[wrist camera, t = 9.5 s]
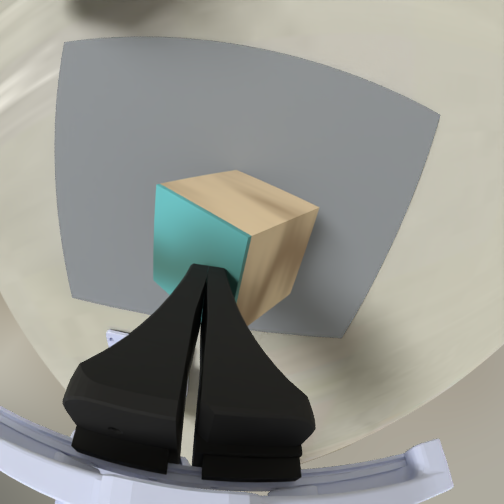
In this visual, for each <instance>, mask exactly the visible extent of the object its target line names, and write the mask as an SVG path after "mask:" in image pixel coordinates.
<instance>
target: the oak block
mask: <svg viewBox="0 0 504 504" xmlns="http://www.w3.org/2000/svg"><path fill="white" fill-rule="evenodd" d="M318 210H319V207H318V206H316V205H313V204H311V203H309V202H307V201H305V200H303V199H301V198H299V197H297V196H294V195H292V194H290V193H288V192H286V191H284V190H281V189H279V188H277V187H275V186H272V185H270V184H268V183H266V182H263V181H261V180H259V179H257V178H254V177H252V176H250V175H247V174H245V173H243V172H240V171H238V170H233V171H226V172H220V173H214V174H208V175H202V176H197V177H191V178H186V179H181V180H176V181H171V182H166V183H161V184H156V197H155V215H154V245H153V280H154V281H155V282H156V283H157V284H158V285H159V286H160V287H161V288H162V289H163V290H165V291H166V292H167V293H168V294H169V295H170V294H171V293H172V292H173V291H174V289H175V288H176V287H177V286H178V284H179V283H180V282H181V280H182V279H183V277H184V276H185V274H186V273H187V271H188V269H189V267H190V265H192V264H193V263H195V264H201V265H207V266H214V267H220V268H225V270H226V271H227V277H228V281H229V285H230V288H231V291H232V294H233V296H234V299H235V301H236V304H237V306H238V308H239V311H240V313H241V315H242V317H243V319H244V321H245V323H246V325H247V326H248V325H250V324H251V323H252V322H254V321H255V320H256V319H258V318H259V317H260V316H262V315H263V314H264V313H266V312H267V311H268V310H270V309H271V308H272V307H274V306H275V305H276V304H277V303H279V302H280V301H281V300H283V299H284V298H285V297H287V296H288V295H289V294H290V293H291V290H292V287H293V285H294V282H295V279H296V276H297V273H298V270H299V268H300V265H301V262H302V259H303V256H304V253H305V250H306V247H307V244H308V241H309V238H310V235H311V232H312V229H313V226H314V223H315V220H316V217H317V214H318ZM208 269H209V268H208ZM203 304H204V303H203ZM202 311H203V310H202ZM201 319H202V318H201Z"/></svg>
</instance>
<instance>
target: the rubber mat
mask: <svg viewBox="0 0 504 504" xmlns="http://www.w3.org/2000/svg"><path fill="white" fill-rule="evenodd" d="M439 118H440V114H438V113H436V112H434V111H433V110H431V109H429V108H427V107H425V106H423V105H421V104H419V103H417V102H415V101H413V100H411V99H409V98H407V97H405V96H403V95H401V94H398V93H396V92H394V91H392V90H390V89H387V88H385V87H383V86H380V85H378V84H376V83H373V82H371V81H368V80H366V79H363V78H360V77H358V76H355V75H352V74H350V73H347V72H344V71H341V70H338V69H335V68H332V67H329V66H326V65H323V64H319V63H316V62H313V61H309V60H306V59H302V58H298V57H295V56H291V55H287V54H283V53H278V52H274V51H269V50H265V49H260V48H255V47H249V46H244V45H238V44H231V43H225V42H217V41H209V40H199V39H188V38H173V37H112V38H97V39H86V40H77V41H70V42H64V47H63V52H62V58H61V65H60V72H59V80H58V90H57V101H56V116H55V180H56V196H57V208H58V217H59V226H60V234H61V241H62V247H63V254H64V259H65V265H66V270H67V275H68V280H69V285H70V290H71V294H72V298H76V299H80V300H84V301H88V302H92V303H97V304H101V305H106V306H110V307H115V308H119V309H124V310H129V311H134V312H139V313H144V314H149V315H152V314H153V313H154V312H155V311H156V310H157V309H158V308H159V307H160V306H161V305H162V303H163V302H164V301H165V300H166V299H167V298H168V297H169V296H170V295H169V294H168V293H167V292H166V291H165V290H163V289H162V288H161V287H160V286H159V285H158V284H157V283H156V282H155V281H154V280H153V245H154V215H155V197H156V184H161V183H166V182H171V181H176V180H181V179H186V178H191V177H197V176H202V175H208V174H214V173H220V172H226V171H233V170H238V171H240V172H243V173H245V174H247V175H250V176H252V177H254V178H257V179H259V180H261V181H263V182H266V183H268V184H270V185H272V186H275V187H277V188H279V189H281V190H284V191H286V192H288V193H290V194H292V195H294V196H297V197H299V198H301V199H303V200H305V201H307V202H309V203H311V204H313V205H316V206H318V207H319V210H318V214H317V217H316V220H315V223H314V226H313V229H312V232H311V235H310V238H309V241H308V244H307V247H306V250H305V253H304V256H303V259H302V262H301V265H300V268H299V270H298V273H297V276H296V279H295V282H294V285H293V287H292V290H291V293H290V294H289V295H288V296H287V297H285V298H284V299H283V300H281V301H280V302H279V303H277V304H276V305H275V306H274V307H272V308H271V309H270V310H268V311H267V312H266V313H264V314H263V315H262V316H260V317H259V318H258V319H256V320H255V321H254V322H252V323H251V324H250V325H248V328H249V330H254V331H262V332H271V333H281V334H292V335H303V336H316V337H330V338H342V337H343V335H344V333H345V332H346V330H347V328H348V327H349V325H350V323H351V322H352V320H353V318H354V316H355V315H356V313H357V311H358V309H359V307H360V306H361V304H362V302H363V300H364V298H365V297H366V295H367V293H368V291H369V289H370V287H371V285H372V283H373V281H374V280H375V278H376V276H377V274H378V272H379V270H380V268H381V266H382V264H383V262H384V260H385V258H386V255H387V253H388V251H389V249H390V247H391V245H392V243H393V241H394V238H395V236H396V234H397V232H398V230H399V227H400V225H401V223H402V220H403V218H404V216H405V213H406V211H407V209H408V206H409V204H410V201H411V199H412V196H413V194H414V191H415V189H416V186H417V184H418V181H419V178H420V176H421V173H422V170H423V167H424V165H425V162H426V159H427V156H428V153H429V150H430V147H431V144H432V141H433V138H434V135H435V131H436V128H437V125H438V121H439Z"/></svg>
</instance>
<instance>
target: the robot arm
mask: <svg viewBox="0 0 504 504" xmlns="http://www.w3.org/2000/svg"><path fill="white" fill-rule="evenodd" d="M208 268H209V269H208ZM203 303H204V304H203ZM202 310H203V311H202ZM201 318H202V319H201ZM200 325H201V332H200V379H199V390H198V400H197V410H196V421H195V432H194V444H193V456H192V466H191V465H190V464H189V462H188V460H187V459H186V458H185V457H181V456H180V453H181V441H182V430H183V420H184V410H185V401H186V397H187V391H188V379H189V371H190V367H191V362H192V358H193V354H194V350H195V346H196V342H197V337H198V333H199V329H200ZM106 337H107V341H108V345H109V348H108V349H106V350H104V351H103V352H101V353H99V354H97V355H95V356H93V357H91V358H89V359H88V360H86V361H84V362H82V363H80V364H79V366H78V367H77V369H76V371H75V372H74V374H73V376H72V378H71V379H70V382H69V384H68V387H67V390H66V392H65V395H64V398H63V405H64V407H65V409H66V411H67V413H68V414H69V415H70V417H71V418H72V420H73V421H74V422H75V424H76V425H77V426H76V429H75V430H74V431H73V432H72V434H71V436H70V437H68V436H66V435H63V434H60V433H57V432H55V431H53V430H50V429H48V428H46V427H43V426H41V425H39V424H36V423H34V422H32V421H30V420H28V419H25V418H23V417H21V416H19V415H17V414H15V413H13V412H11V411H9V410H7V409H6V408H4V407H2V406H0V471H2V472H3V473H5V474H7V475H8V476H10V477H12V478H14V479H15V480H17V481H19V482H21V483H23V484H25V485H27V486H29V487H30V488H32V489H34V490H37V491H38V492H41V493H43V494H45V495H47V496H49V497H51V498H54V499H56V501H55V504H418V503H420V502H423V501H425V500H428V499H430V498H432V497H435V496H437V495H439V494H441V493H443V492H445V491H447V490H450V489H452V488H453V486H454V485H453V481H452V478H451V474H450V471H449V467H448V464H447V461H446V458H445V454H444V451H443V448H442V445H441V442H440V440H439V439H434V440H430V441H427V442H424V443H420V444H418V445H416V446H413V447H412V448H410V449H409V450H407V451H406V452H405V453H403V454H399V455H395V456H390V457H386V458H382V459H376V460H372V461H366V462H360V463H354V464H347V465H340V466H332V467H323V468H313V469H301V467H300V458H299V457H301V456H302V447H301V444H302V443H303V442H304V441H305V440H306V439H307V438H308V437H309V436H310V435H311V434H312V433H313V432H314V430H315V419H314V415H313V411H312V408H311V405H310V402H309V400H308V397H307V396H306V395H305V394H304V393H303V392H302V391H301V390H299V389H298V388H297V387H296V386H295V385H294V384H293V383H291V382H290V381H289V380H288V379H287V378H286V377H285V376H284V375H283V373H282V372H281V371H280V370H279V369H278V368H277V367H276V366H275V365H274V363H273V362H272V361H271V360H270V358H269V357H268V356H267V355H266V354H265V352H264V351H263V350H262V348H261V347H260V345H259V344H258V343H257V341H256V340H255V338H254V336H253V335H252V333H251V332H250V330H249V328H248V326H247V325H246V323H245V321H244V319H243V317H242V315H241V313H240V311H239V308H238V306H237V304H236V301H235V299H234V296H233V294H232V291H231V288H230V285H229V281H228V277H227V271H226V270H225V268H220V267H214V266H207V265H201V264H195V263H193V264H192V265H190V267H189V269H188V271H187V273H186V274H185V276H184V277H183V279H182V280H181V282H180V283H179V284H178V286H177V287H176V288H175V289H174V291H173V292H172V293H171V294H170V296H169V297H168V298H167V299H166V300H165V301H164V302H163V303H162V305H161V306H160V307H159V308H158V309H157V310H156V311H155V312H154V313H153V314H152V315H151V316H150V317H149V318H148V319H146V320H145V321H144V322H143V323H142V324H141V325H140V326H138V327H137V328H136V329H135V330H133V331H132V332H131V333H130V334H128V333H123V332H119V331H114V330H108V331H107V333H106ZM197 488H200V489H197ZM208 489H210V490H208ZM221 490H225V491H221ZM235 491H270V492H269V493H268V496H259V495H258V494H253V493H247V492H235Z"/></svg>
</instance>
